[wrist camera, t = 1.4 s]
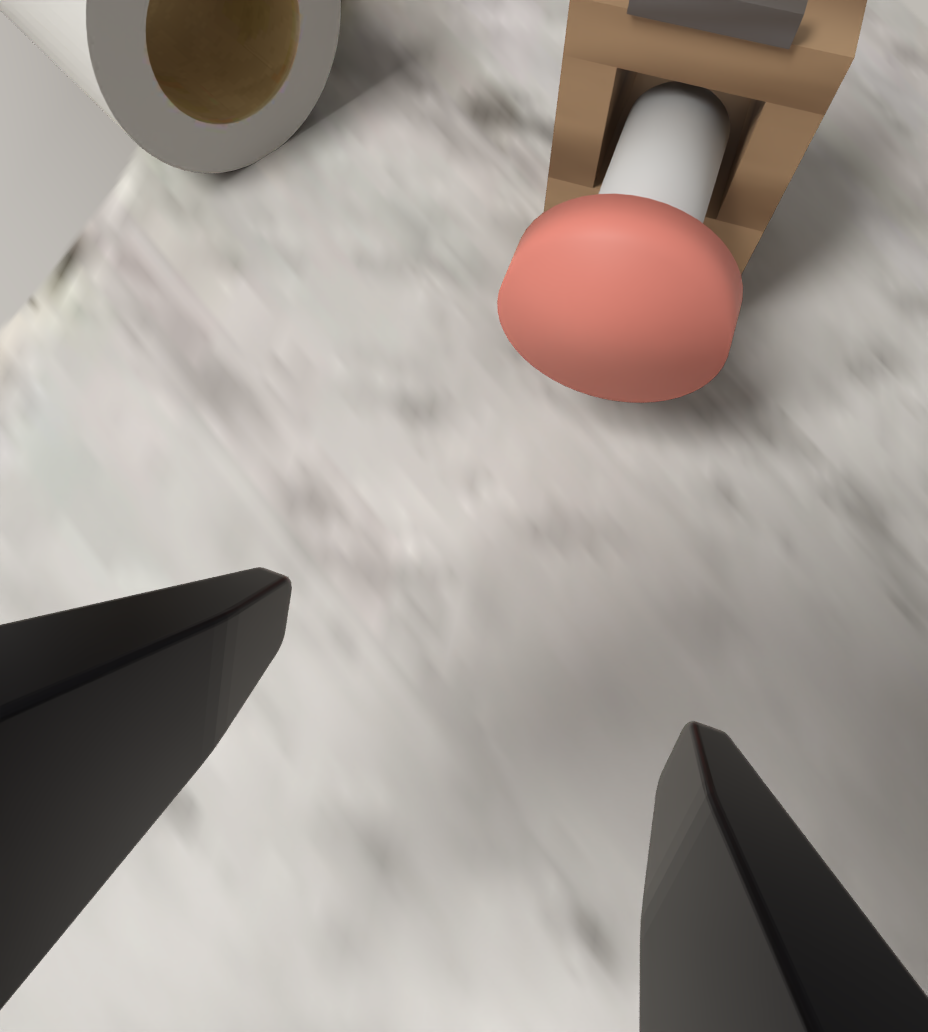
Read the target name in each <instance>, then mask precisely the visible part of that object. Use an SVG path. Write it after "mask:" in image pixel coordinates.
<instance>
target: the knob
mask: <svg viewBox="0 0 928 1032" xmlns="http://www.w3.org/2000/svg"><path fill="white" fill-rule="evenodd" d="M729 134H730V121H729V116H728V113H727V110H726V108H725V106H724V105H723V103H722V102H721V100H720V99H719V98H718V97H717V96H716V95H715V94H714V93H713V92H711V91H710V90H708V89H707V88H703V87H699V86H695V85H690V84H686V83H682V82H677V81H673V82H667V83H662V84H660V85H657V86H655V87H653V88H651V89H649V90H648V91H646V92H645V93H643V94H642V95H641V96H640V97H639V98H638V99H637V100H636V102H635V103H634V105H633V106H632V108H631V110H630V112H629V114H628V117H627V120H626V122H625V125H624V128H623V130H622V133H621V136H620V138H619V141H618V143H617V146H616V149H615V151H614V154H613V157H612V159H611V162H610V165H609V167H608V170H607V172H606V175H605V178H604V180H603V183H602V186H601V188H600V191H599V194H595V195H588V196H582V197H578V198H575V199H571V200H568V201H565V202H563V203H560V204H558V205H555V206H554V207H552V208H550V209H549V210H547V211H545V212H544V213H542V214H541V215H540V216H539V217H538V218H536V219H535V220H534V221H533V222H532V223H531V225H530V226H529V227H528V228H527V229H526V231H525V232H524V234H523V236H522V237H521V239H520V242H519V244H518V246H517V249H516V251H515V254H514V256H513V258H512V261H511V263H510V265H509V268H508V270H507V273H506V275H505V277H504V280H503V282H502V285H501V288H500V290H499V294H498V301H497V304H498V315H499V319H500V323H501V325H502V328H503V330H504V332H505V334H506V336H507V338H508V339H509V341H510V342H511V344H512V345H513V346H514V348H515V349H516V350H517V351H518V352H519V354H520V355H521V356H522V357H523V358H524V359H525V360H526V361H528V362H529V363H530V364H531V365H532V366H533V367H535V368H536V369H537V370H539V371H540V372H542V373H543V374H545V375H546V376H548V377H549V378H551V379H553V380H555V381H556V382H558V383H560V384H562V385H564V386H567V387H569V388H571V389H574V390H576V391H579V392H582V393H585V394H588V395H591V396H595V397H599V398H603V399H608V400H614V401H622V402H637V403H644V402H658V401H665V400H670V399H674V398H678V397H681V396H684V395H687V394H690V393H692V392H694V391H696V390H698V389H700V388H701V387H703V386H704V385H706V384H707V383H709V382H710V381H711V380H712V379H713V378H714V377H715V376H716V375H717V374H718V373H719V371H720V370H721V369H722V367H723V366H724V364H725V362H726V360H727V357H728V354H729V350H730V346H731V343H732V339H733V335H734V331H735V327H736V323H737V320H738V316H739V312H740V308H741V303H742V299H743V284H742V278H741V274H740V271H739V268H738V265H737V263H736V261H735V259H734V257H733V255H732V254H731V252H730V250H729V249H728V248H727V246H726V245H725V244H724V243H723V241H722V240H721V239H720V238H719V237H718V236H717V235H716V234H715V233H714V232H713V231H712V230H711V229H710V228H708V227H707V226H706V225H704V224H703V222H704V218H705V215H706V212H707V208H708V205H709V202H710V198H711V195H712V192H713V188H714V185H715V182H716V179H717V175H718V172H719V169H720V165H721V162H722V159H723V155H724V152H725V149H726V145H727V142H728V139H729Z"/></svg>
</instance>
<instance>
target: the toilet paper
mask: <svg viewBox="0 0 928 1032" xmlns="http://www.w3.org/2000/svg"><path fill="white" fill-rule="evenodd" d="M0 11H1V12H2V13H3V14H4V15H5V16H6V17H7V18H8V19H9V20H10V21H11V22H13V23H14V24H15V25H16V26H17V27H18V28H19V29H20V30H21V31H22V32H23V33H24V34H25V35H26V36H27V37H28V38H29V39H30V40H31V41H32V42H33V43H34V44H35V45H36V46H37V47H38V48H39V49H40V50H41V51H42V52H43V53H44V54H45V55H46V56H48V58H50V59H51V61H52V62H53V63H55V64H56V65H57V66H58V67H59V68H60V69H61V70H62V71H63V72H64V73H65V74H66V75H67V76H68V77H69V78H70V79H71V80H72V81H73V82H74V83H75V84H76V85H77V86H78V87H79V88H80V89H81V90H82V91H83V92H84V93H85V94H86V95H87V96H88V97H89V98H90V99H92V100H93V101H94V102H95V103H96V104H97V105H98V106H99V107H100V108H101V109H102V110H103V111H104V112H105V113H106V114H107V115H108V116H109V117H110V118H111V119H112V120H113V121H114V122H115V123H116V124H117V125H118V126H119V127H120V128H122V130H123V131H124V132H125V133H126V134H127V135H128V136H129V137H130V138H131V139H133V140H134V141H135V142H136V143H137V144H138V145H139V146H140V147H141V148H143V149H144V150H145V151H147V152H148V153H149V154H151V155H152V156H154V157H155V158H157V159H159V160H161V161H162V162H164V163H167V164H169V165H171V166H173V167H176V168H180V169H183V170H187V171H192V172H198V173H221V172H228V171H233V170H237V169H240V168H243V167H246V166H249V165H251V164H253V163H255V162H257V161H258V160H260V159H262V158H263V157H265V156H266V155H268V154H270V153H271V152H273V151H274V150H276V149H277V148H279V147H280V146H281V145H283V144H284V143H285V142H286V141H287V140H288V139H289V138H290V137H291V136H292V135H293V134H294V133H295V132H296V131H297V130H298V129H299V127H300V126H301V125H302V124H303V122H304V121H305V120H306V118H307V117H308V116H309V114H310V112H311V111H312V109H313V108H314V106H315V104H316V103H317V101H318V99H319V97H320V95H321V93H322V91H323V89H324V86H325V84H326V82H327V79H328V76H329V74H330V71H331V68H332V64H333V61H334V57H335V53H336V48H337V44H338V37H339V31H340V19H341V0H0Z"/></svg>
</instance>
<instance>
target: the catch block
mask: <svg viewBox="0 0 928 1032" xmlns="http://www.w3.org/2000/svg"><path fill="white" fill-rule="evenodd" d="M866 3H867V0H570V4H569V12H568V20H567V28H566V36H565V44H564V52H563V60H562V69H561V77H560V85H559V93H558V101H557V109H556V117H555V125H554V133H553V142H552V150H551V158H550V166H549V174H548V182H547V190H546V198H545V206H544V212H545V211H547V210H549V209H550V208H552V207H554V206H555V205H558V204H560V203H563V202H565V201H568V200H571V199H575V198H578V197H582V196H588V195H595V194H599V191H600V188H601V186H602V183H603V180H604V178H605V175H606V172H607V170H608V167H609V165H610V162H611V159H612V157H613V154H614V151H615V149H616V146H617V143H618V141H619V138H620V136H621V133H622V130H623V128H624V125H625V122H626V120H627V117H628V114H629V112H630V110H631V108H632V106H633V105H634V103H635V102H636V100H637V99H638V98H639V97H640V96H641V95H642V94H643V93H645V92H646V91H648V90H649V89H651V88H653V87H655V86H657V85H660V84H662V83H667V82H673V81H677V82H682V83H686V84H690V85H695V86H699V87H703V88H707V89H708V90H710V91H711V92H713V93H714V94H715V95H716V96H717V97H718V98H719V99H720V100H721V102H722V103H723V105H724V106H725V108H726V110H727V113H728V116H729V121H730V134H729V139H728V142H727V145H726V149H725V152H724V155H723V159H722V162H721V165H720V169H719V172H718V175H717V179H716V182H715V185H714V188H713V192H712V195H711V198H710V202H709V205H708V208H707V212H706V215H705V218H704V222H703V224H704V225H706V226H707V227H708V228H710V229H711V230H712V231H713V232H714V233H715V234H716V235H717V236H718V237H719V238H720V239H721V240H722V241H723V243H724V244H725V245H726V246H727V248H728V249H729V250H730V252H731V254H732V255H733V257H734V259H735V261H736V263H737V265H738V268H739V271H740V274H742V272H743V271H744V269H745V267H746V265H747V263H748V261H749V259H750V257H751V255H752V253H753V251H754V249H755V247H756V246H757V244H758V242H759V240H760V238H761V236H762V234H763V232H764V230H765V228H766V226H767V224H768V223H769V221H770V219H771V217H772V215H773V213H774V211H775V209H776V207H777V205H778V203H779V201H780V199H781V198H782V196H783V194H784V192H785V190H786V188H787V186H788V184H789V182H790V180H791V178H792V176H793V175H794V173H795V171H796V169H797V167H798V165H799V163H800V161H801V159H802V157H803V155H804V153H805V151H806V150H807V148H808V146H809V144H810V142H811V140H812V138H813V136H814V134H815V132H816V130H817V128H818V127H819V125H820V123H821V121H822V119H823V117H824V115H825V113H826V111H827V109H828V107H829V105H830V103H831V102H832V100H833V98H834V96H835V94H836V92H837V90H838V88H839V86H840V84H841V82H842V80H843V79H844V77H845V75H846V73H847V71H848V69H849V67H850V65H851V63H852V61H853V59H854V57H855V52H856V48H857V43H858V39H859V34H860V30H861V25H862V21H863V16H864V12H865V7H866Z"/></svg>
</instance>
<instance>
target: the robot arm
mask: <svg viewBox="0 0 928 1032" xmlns="http://www.w3.org/2000/svg"><path fill="white" fill-rule="evenodd" d="M291 590H292V586H291V581H290V579H289V578H288V577H287V576H285V575H282V574H279V573H276V572H274V571H271V570H268V569H265V568H261V567H258V568H253V569H248V570H244V571H239V572H235V573H230V574H226V575H222V576H217V577H213V578H208V579H204V580H199V581H195V582H190V583H186V584H181V585H177V586H172V587H168V588H163V589H159V590H154V591H150V592H145V593H141V594H136V595H132V596H128V597H123V598H119V599H114V600H110V601H105V602H101V603H96V604H92V605H87V606H83V607H78V608H74V609H69V610H65V611H60V612H56V613H51V614H47V615H42V616H38V617H33V618H29V619H24V620H20V621H16V622H11V623H7V624H2V625H0V1010H1V1009H2V1007H3V1006H4V1005H5V1004H6V1003H7V1001H8V1000H9V999H10V998H11V997H12V995H13V994H14V993H15V992H16V990H17V989H18V988H19V987H20V986H21V984H22V983H23V982H24V981H25V979H26V978H27V977H28V976H29V975H30V973H31V972H32V971H33V970H34V969H35V967H36V966H37V965H38V964H39V962H40V961H41V960H42V959H43V958H44V956H45V955H46V954H47V953H48V952H49V950H50V949H51V948H52V947H53V945H54V944H55V943H56V942H57V941H58V939H59V938H60V937H61V936H62V934H63V933H64V932H65V931H66V930H67V928H68V927H69V926H70V925H71V924H72V922H73V921H74V920H75V919H76V917H77V916H78V915H79V914H80V913H81V911H82V910H83V909H84V908H85V906H86V905H87V904H88V903H89V902H90V900H91V899H92V898H93V897H94V896H95V894H96V893H97V892H98V891H99V889H100V888H101V887H102V886H103V885H104V883H105V882H106V881H107V880H108V879H109V877H110V876H111V875H112V874H113V872H114V871H115V870H116V869H117V868H118V866H119V865H120V864H121V863H122V861H123V860H124V859H125V858H126V857H127V855H128V854H129V853H130V852H131V851H132V849H133V848H134V847H135V846H136V844H137V843H138V842H139V841H140V840H141V838H142V837H143V836H144V835H145V834H146V832H147V831H148V830H149V829H150V827H151V826H152V825H153V824H154V823H155V821H156V820H157V819H158V818H159V816H160V815H161V814H162V813H163V812H164V810H165V809H166V808H167V807H168V806H169V804H170V803H171V802H172V801H173V799H174V798H175V797H176V796H177V795H178V793H179V792H180V791H181V790H182V788H183V787H184V786H185V785H186V784H187V782H188V781H189V780H190V779H191V778H192V776H193V775H194V774H195V773H196V771H197V770H198V769H199V768H200V767H201V765H202V764H203V763H204V761H205V760H206V759H207V758H208V756H209V755H210V754H211V752H212V751H213V750H214V748H215V747H216V746H217V744H218V743H219V741H220V740H221V738H222V737H223V735H224V734H225V732H226V731H227V729H228V728H229V726H230V725H231V723H232V722H233V720H234V718H235V717H236V715H237V714H238V712H239V711H240V709H241V708H242V706H243V705H244V703H245V701H246V700H247V698H248V697H249V695H250V694H251V692H252V691H253V689H254V688H255V686H256V685H257V683H258V681H259V680H260V678H261V677H262V675H263V674H264V672H265V671H266V669H267V668H268V666H269V664H270V663H271V661H272V660H273V658H274V657H275V655H276V654H277V652H278V650H279V648H280V646H281V644H282V641H283V638H284V635H285V630H286V623H287V617H288V610H289V604H290V597H291ZM640 1032H928V997H927V995H926V994H925V993H924V991H923V990H922V989H921V988H920V986H919V985H918V984H917V982H916V981H915V980H914V978H913V977H912V976H911V974H910V973H909V972H908V970H907V969H906V968H905V967H904V965H903V964H902V963H901V961H900V960H899V959H898V957H897V956H896V955H895V953H894V952H893V951H892V949H891V948H890V947H889V946H888V944H887V943H886V942H885V940H884V939H883V938H882V936H881V935H880V934H879V932H878V931H877V930H876V929H875V927H874V926H873V925H872V923H871V922H870V921H869V919H868V918H867V917H866V915H865V914H864V913H863V911H862V910H861V909H860V908H859V906H858V905H857V904H856V902H855V901H854V900H853V898H852V897H851V896H850V894H849V893H848V892H847V890H846V889H845V888H844V887H843V885H842V884H841V883H840V881H839V880H838V879H837V877H836V876H835V875H834V873H833V872H832V871H831V870H830V868H829V867H828V866H827V864H826V863H825V862H824V860H823V859H822V858H821V856H820V855H819V854H818V852H817V851H816V850H815V849H814V847H813V846H812V845H811V843H810V842H809V841H808V839H807V838H806V837H805V835H804V834H803V833H802V831H801V830H800V829H799V828H798V826H797V825H796V824H795V822H794V821H793V820H792V818H791V817H790V816H789V814H788V813H787V812H786V811H785V809H784V808H783V807H782V805H781V804H780V803H779V801H778V800H777V799H776V797H775V796H774V795H773V793H772V792H771V791H770V790H769V788H768V787H767V786H766V784H765V783H764V782H763V780H762V779H761V778H760V776H759V775H758V774H757V772H756V771H755V770H754V769H753V767H752V766H751V765H750V763H749V762H748V761H747V759H746V758H745V757H744V755H743V754H742V753H741V751H740V750H739V749H738V748H737V746H736V745H735V744H734V742H733V741H732V740H731V738H730V737H729V736H728V735H727V734H726V733H725V732H723V731H721V730H718V729H715V728H712V727H710V726H707V725H704V724H701V723H698V722H695V721H691V722H689V723H687V724H686V725H685V727H684V728H683V730H682V731H681V733H680V736H679V738H678V740H677V742H676V744H675V746H674V748H673V750H672V752H671V754H670V756H669V758H668V761H667V763H666V765H665V767H664V769H663V771H662V773H661V776H660V779H659V782H658V786H657V790H656V797H655V805H654V813H653V821H652V830H651V838H650V846H649V854H648V862H647V870H646V878H645V886H644V895H643V904H642V913H641V928H640Z"/></svg>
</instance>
